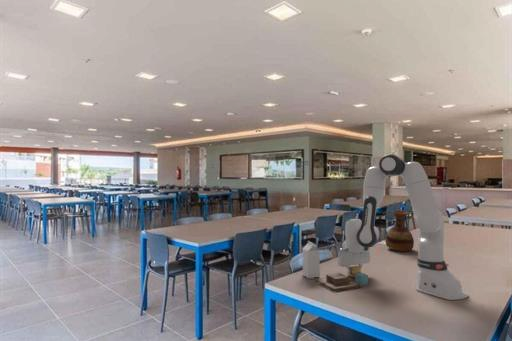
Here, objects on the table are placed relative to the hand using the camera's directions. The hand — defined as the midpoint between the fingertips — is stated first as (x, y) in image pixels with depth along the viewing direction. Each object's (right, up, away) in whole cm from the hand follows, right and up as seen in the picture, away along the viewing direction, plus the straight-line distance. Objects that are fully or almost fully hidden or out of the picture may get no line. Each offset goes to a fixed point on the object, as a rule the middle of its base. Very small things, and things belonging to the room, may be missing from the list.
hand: (354, 272), depth 176 cm
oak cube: (0, -2, 0) cm, 2 cm away
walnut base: (-13, -2, -14) cm, 19 cm away
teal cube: (0, -2, -12) cm, 12 cm away
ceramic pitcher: (+55, -4, +65) cm, 85 cm away
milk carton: (-24, -2, 0) cm, 24 cm away
